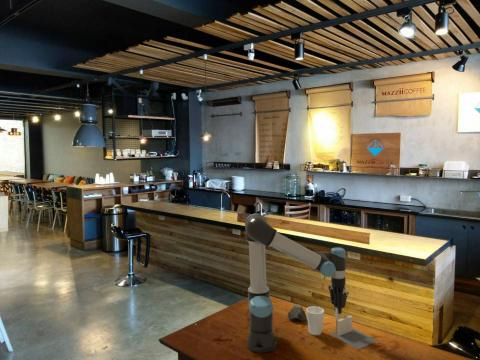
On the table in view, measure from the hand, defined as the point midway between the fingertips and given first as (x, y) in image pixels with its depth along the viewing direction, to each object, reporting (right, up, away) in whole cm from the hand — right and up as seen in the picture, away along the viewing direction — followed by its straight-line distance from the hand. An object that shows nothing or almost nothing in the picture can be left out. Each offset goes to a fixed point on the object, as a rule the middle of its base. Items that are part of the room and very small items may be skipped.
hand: (338, 318), depth 204 cm
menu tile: (+2, -6, -3) cm, 7 cm away
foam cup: (-13, -7, -3) cm, 15 cm away
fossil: (-21, -6, +15) cm, 26 cm away
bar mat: (+6, -7, -9) cm, 13 cm away
